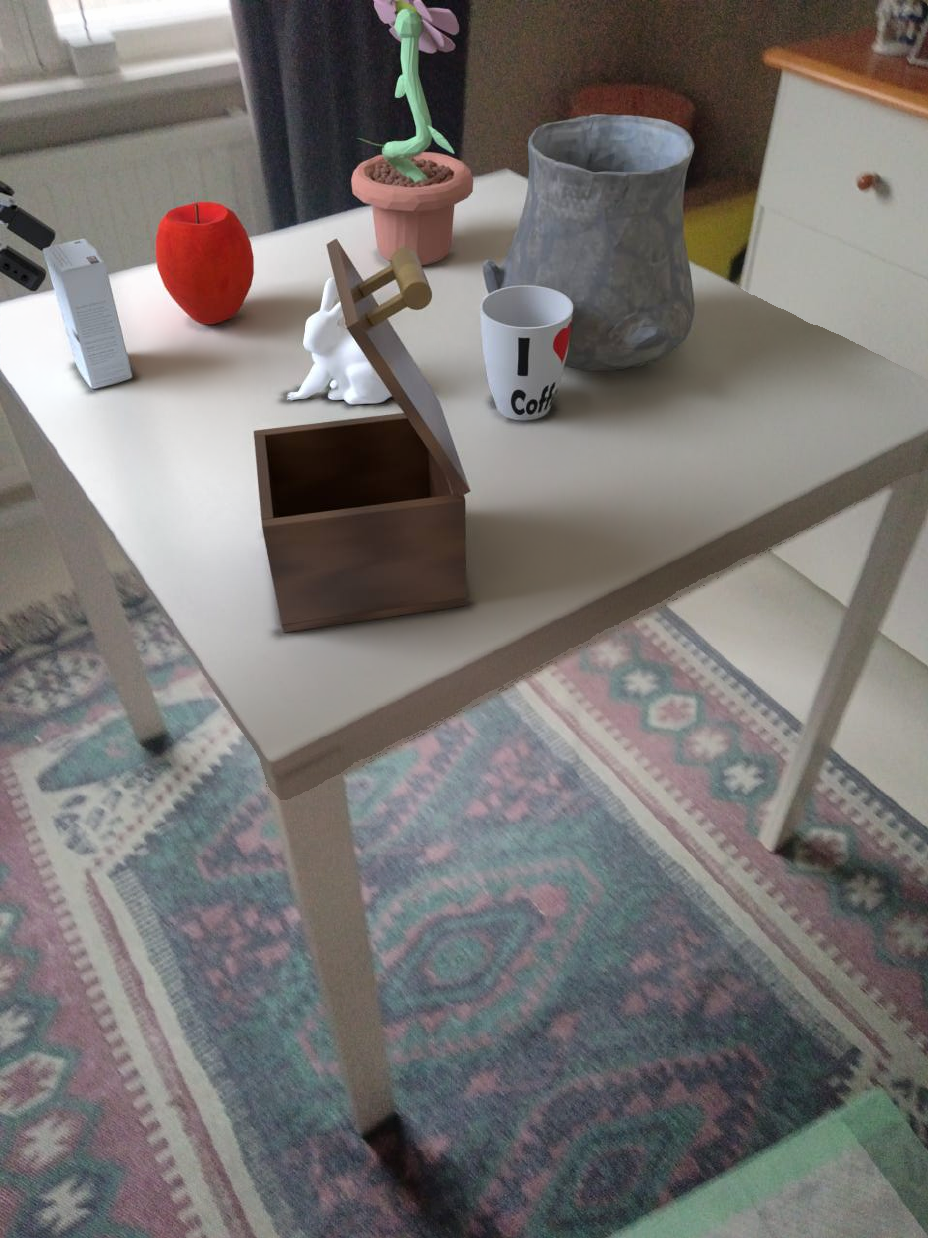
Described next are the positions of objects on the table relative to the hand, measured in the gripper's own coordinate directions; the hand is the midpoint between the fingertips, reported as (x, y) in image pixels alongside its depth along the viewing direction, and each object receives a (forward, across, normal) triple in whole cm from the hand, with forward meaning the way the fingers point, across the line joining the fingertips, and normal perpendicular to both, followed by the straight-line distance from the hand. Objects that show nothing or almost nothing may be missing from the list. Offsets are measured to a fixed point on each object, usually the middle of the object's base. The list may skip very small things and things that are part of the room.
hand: (46, 261), depth 89 cm
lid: (+15, -35, -23) cm, 45 cm away
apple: (+18, +9, -1) cm, 20 cm away
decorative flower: (+35, +20, -18) cm, 44 cm away
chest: (+25, -35, -9) cm, 44 cm away
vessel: (+45, -6, -28) cm, 53 cm away
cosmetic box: (+10, 0, +7) cm, 12 cm away
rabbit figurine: (+27, -8, -10) cm, 30 cm away
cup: (+38, -15, -21) cm, 46 cm away
